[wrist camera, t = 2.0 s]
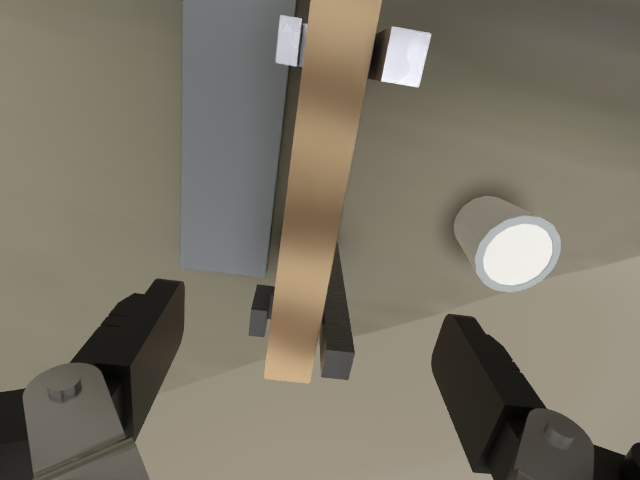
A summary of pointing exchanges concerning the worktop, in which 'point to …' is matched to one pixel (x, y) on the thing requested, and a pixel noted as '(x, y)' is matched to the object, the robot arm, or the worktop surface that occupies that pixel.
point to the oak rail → (318, 177)
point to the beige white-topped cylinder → (506, 243)
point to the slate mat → (230, 132)
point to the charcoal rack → (335, 332)
